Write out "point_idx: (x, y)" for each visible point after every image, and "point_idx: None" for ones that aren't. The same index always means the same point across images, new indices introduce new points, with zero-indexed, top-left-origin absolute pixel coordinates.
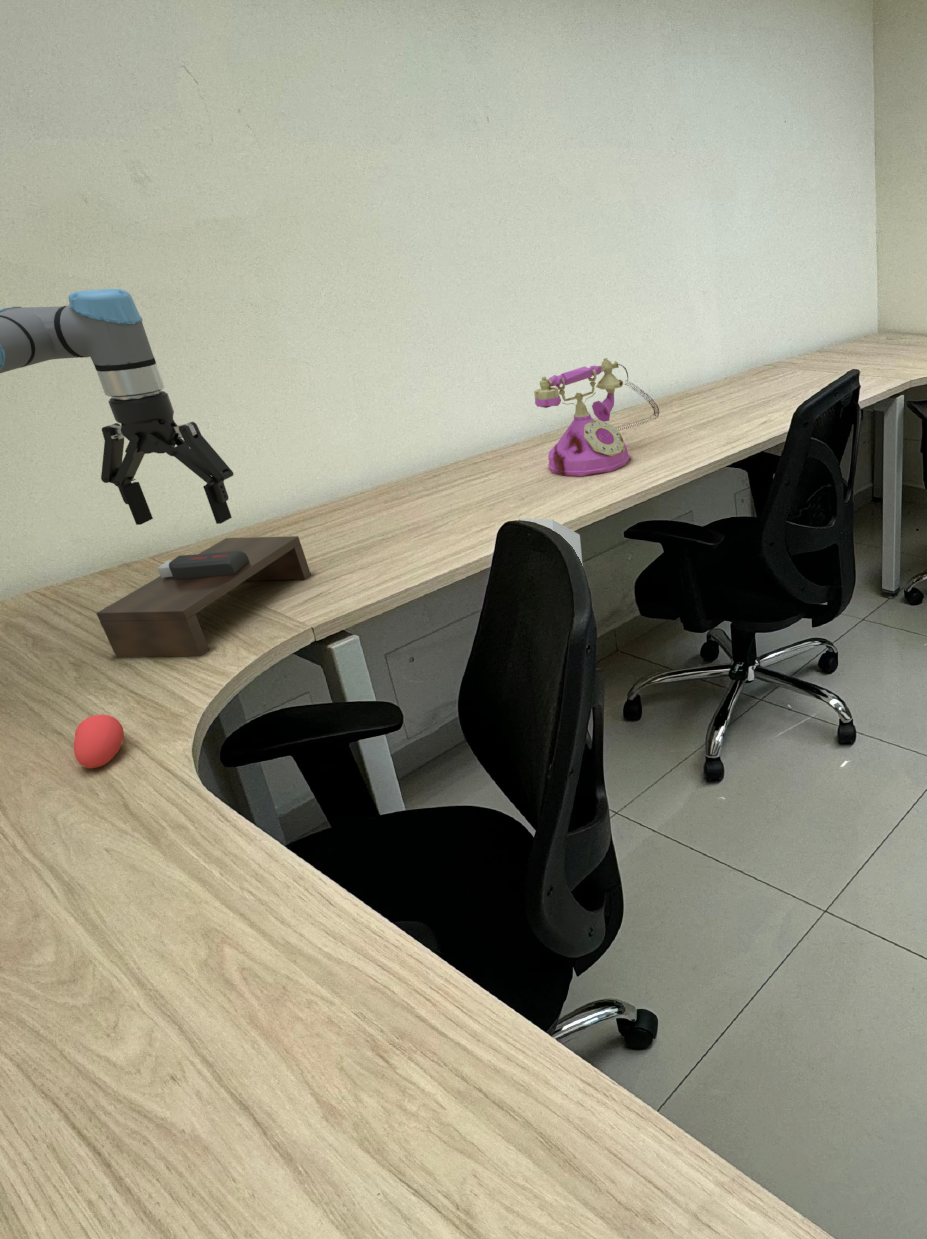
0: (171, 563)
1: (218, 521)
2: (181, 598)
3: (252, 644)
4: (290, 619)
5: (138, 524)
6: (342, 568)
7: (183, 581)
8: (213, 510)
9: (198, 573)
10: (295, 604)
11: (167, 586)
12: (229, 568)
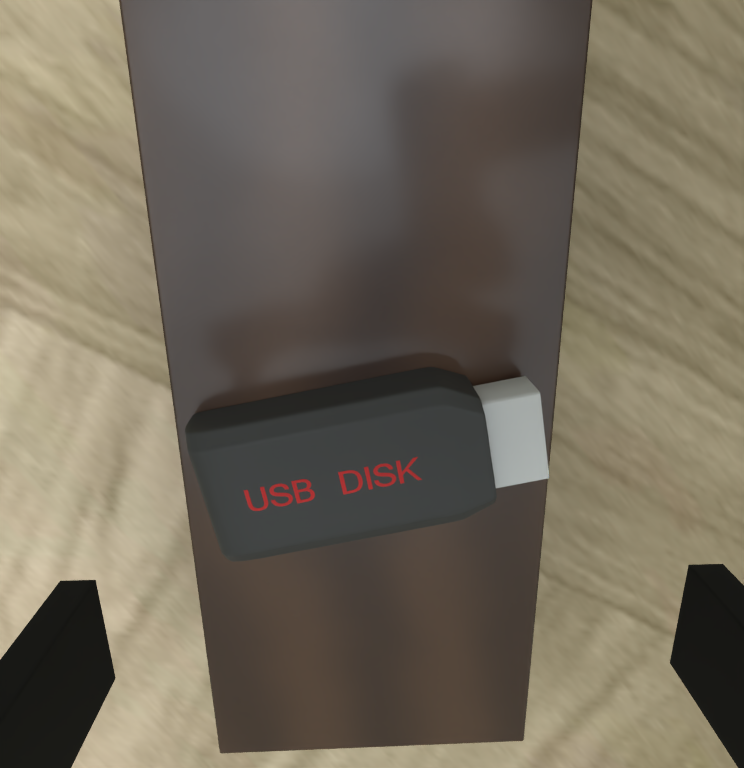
0: (469, 411)
1: (66, 593)
2: (254, 152)
3: (59, 140)
4: (69, 329)
5: (705, 564)
6: (176, 666)
7: (395, 346)
8: (24, 665)
9: (342, 390)
10: (141, 435)
11: (434, 293)
12: (200, 422)
